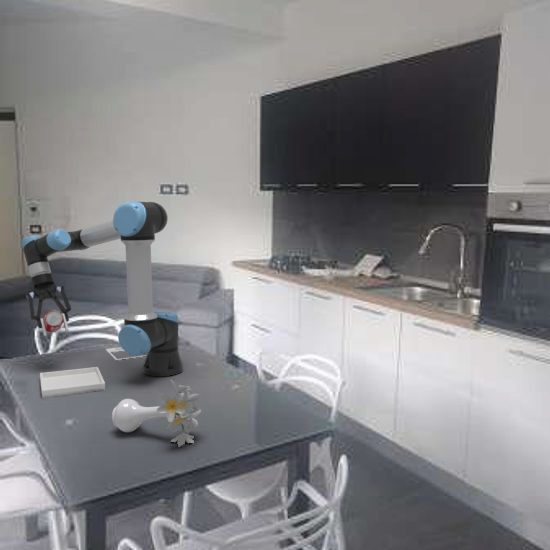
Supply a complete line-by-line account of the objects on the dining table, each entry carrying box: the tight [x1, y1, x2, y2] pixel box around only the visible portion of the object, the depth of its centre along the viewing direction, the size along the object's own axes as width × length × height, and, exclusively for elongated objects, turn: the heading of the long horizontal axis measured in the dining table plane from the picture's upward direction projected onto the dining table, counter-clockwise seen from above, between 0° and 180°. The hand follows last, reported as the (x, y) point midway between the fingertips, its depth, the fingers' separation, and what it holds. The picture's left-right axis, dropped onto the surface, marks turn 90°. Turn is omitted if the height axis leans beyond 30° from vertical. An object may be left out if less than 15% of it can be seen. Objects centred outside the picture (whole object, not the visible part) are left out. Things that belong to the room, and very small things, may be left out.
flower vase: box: [111, 379, 202, 446], centre depth 148 cm, size 13×18×25 cm
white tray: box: [39, 366, 106, 399], centre depth 188 cm, size 20×20×2 cm
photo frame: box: [105, 346, 147, 361], centre depth 229 cm, size 15×1×18 cm
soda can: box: [42, 309, 64, 333], centre depth 202 cm, size 7×7×12 cm
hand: (56, 333), depth 200 cm, fingers closed on soda can, 7 cm apart
